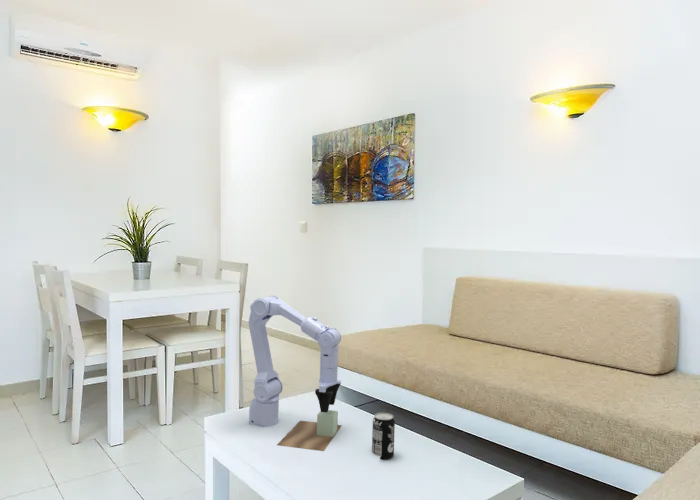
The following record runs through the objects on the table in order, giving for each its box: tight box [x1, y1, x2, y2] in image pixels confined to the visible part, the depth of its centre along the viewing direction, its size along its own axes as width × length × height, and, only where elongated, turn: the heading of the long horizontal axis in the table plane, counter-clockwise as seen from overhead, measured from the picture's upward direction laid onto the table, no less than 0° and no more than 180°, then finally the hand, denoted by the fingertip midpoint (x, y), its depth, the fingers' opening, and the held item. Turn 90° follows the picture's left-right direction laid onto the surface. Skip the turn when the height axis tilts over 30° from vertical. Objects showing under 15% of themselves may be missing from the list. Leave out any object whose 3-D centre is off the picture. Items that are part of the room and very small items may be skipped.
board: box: [276, 420, 343, 452], centre depth 166 cm, size 15×22×1 cm
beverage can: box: [371, 412, 396, 460], centre depth 155 cm, size 7×7×12 cm
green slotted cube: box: [316, 409, 339, 437], centre depth 168 cm, size 5×5×7 cm
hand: (327, 408), depth 168 cm, fingers open, 7 cm apart
